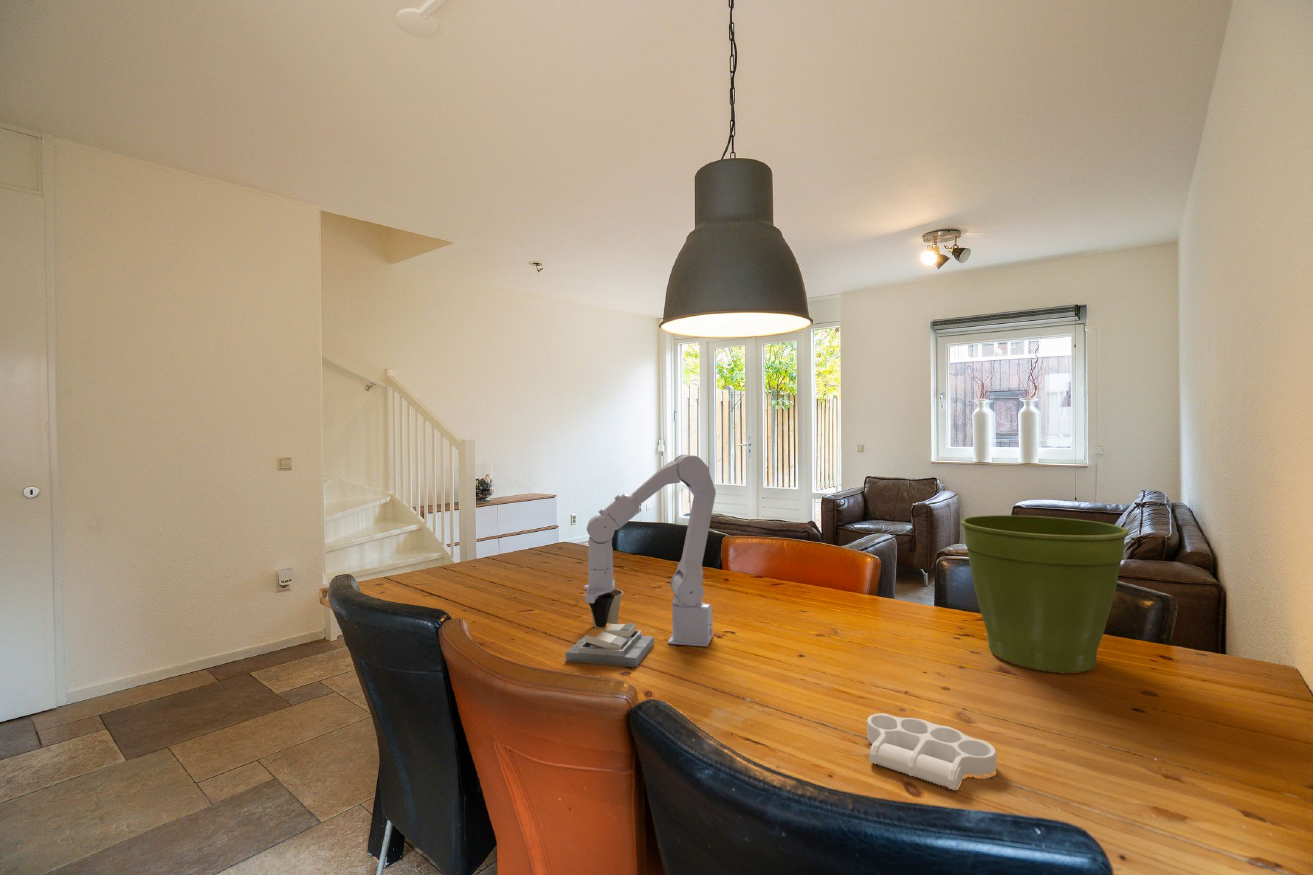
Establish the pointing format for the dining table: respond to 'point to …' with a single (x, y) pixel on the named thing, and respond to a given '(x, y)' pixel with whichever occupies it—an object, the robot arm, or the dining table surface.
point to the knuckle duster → (927, 750)
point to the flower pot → (613, 608)
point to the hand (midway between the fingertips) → (601, 626)
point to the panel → (612, 652)
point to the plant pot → (1044, 586)
